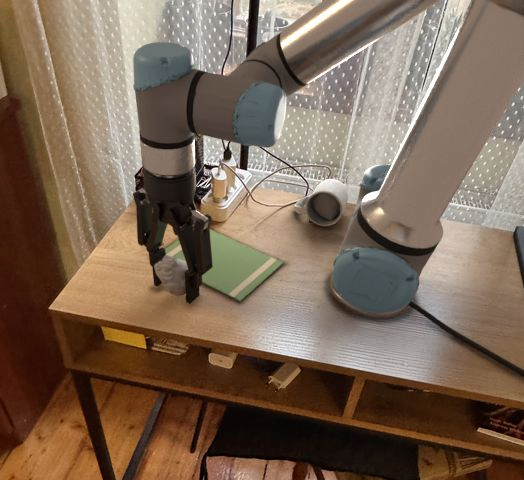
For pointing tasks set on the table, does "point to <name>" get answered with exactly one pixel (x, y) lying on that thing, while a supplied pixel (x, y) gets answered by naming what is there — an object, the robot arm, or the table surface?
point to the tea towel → (232, 266)
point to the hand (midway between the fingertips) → (176, 290)
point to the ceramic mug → (324, 203)
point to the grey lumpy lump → (172, 274)
